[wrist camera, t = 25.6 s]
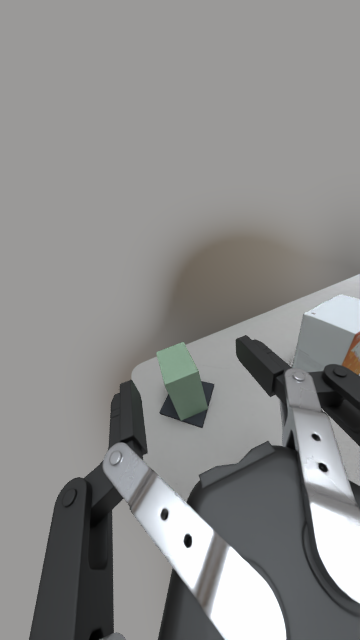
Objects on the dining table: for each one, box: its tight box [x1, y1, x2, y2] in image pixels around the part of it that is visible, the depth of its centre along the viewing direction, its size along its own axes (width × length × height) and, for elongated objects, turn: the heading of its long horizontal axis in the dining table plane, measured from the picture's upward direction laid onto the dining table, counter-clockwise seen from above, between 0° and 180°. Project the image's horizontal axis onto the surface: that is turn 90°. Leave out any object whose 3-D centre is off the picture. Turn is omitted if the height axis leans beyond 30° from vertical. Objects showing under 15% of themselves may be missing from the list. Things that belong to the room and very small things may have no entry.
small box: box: [292, 294, 360, 375], centre depth 27 cm, size 8×6×13 cm
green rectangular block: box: [156, 342, 208, 421], centre depth 29 cm, size 7×5×10 cm
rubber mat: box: [160, 381, 214, 428], centre depth 32 cm, size 8×8×1 cm
